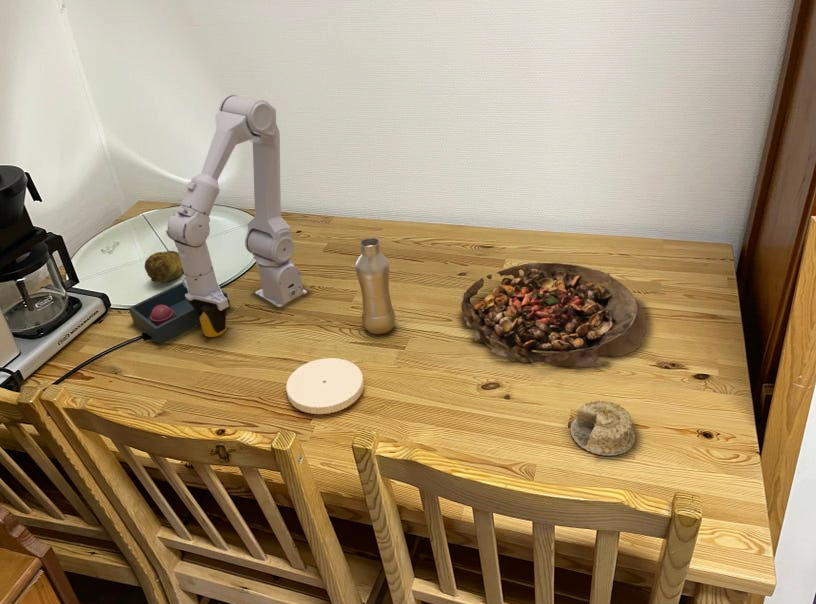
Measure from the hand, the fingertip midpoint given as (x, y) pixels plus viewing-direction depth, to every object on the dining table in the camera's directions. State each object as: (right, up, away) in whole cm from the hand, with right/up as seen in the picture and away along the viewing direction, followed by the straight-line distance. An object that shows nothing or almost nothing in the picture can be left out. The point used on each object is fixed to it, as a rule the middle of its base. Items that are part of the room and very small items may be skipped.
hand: (213, 325), depth 151 cm
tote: (-8, +2, +8) cm, 12 cm away
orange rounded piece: (0, -1, +1) cm, 1 cm away
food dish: (+68, +1, -8) cm, 69 cm away
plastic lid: (+24, -12, -19) cm, 33 cm away
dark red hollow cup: (-11, 0, +5) cm, 13 cm away
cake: (+69, -17, -35) cm, 79 cm away
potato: (-15, +11, +24) cm, 30 cm away
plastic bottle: (+35, -1, -4) cm, 35 cm away
